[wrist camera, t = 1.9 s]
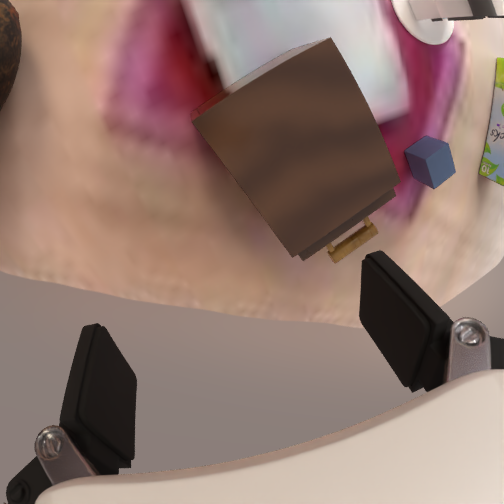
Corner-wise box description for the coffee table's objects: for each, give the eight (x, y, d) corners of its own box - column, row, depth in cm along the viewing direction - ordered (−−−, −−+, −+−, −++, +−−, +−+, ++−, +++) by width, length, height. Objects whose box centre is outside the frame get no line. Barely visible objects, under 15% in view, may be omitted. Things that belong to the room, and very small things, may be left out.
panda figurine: (406, 51, 28) (501, 55, 16) (372, -28, 23) (458, -58, 10) (461, 39, 28) (545, 47, 15) (434, -30, 22) (514, -43, 9)
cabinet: (353, 157, 34) (401, 182, 26) (266, 216, 36) (292, 258, 28) (291, 49, 27) (330, 37, 19) (190, 113, 29) (191, 121, 21)
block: (426, 135, 35) (448, 142, 31) (434, 162, 37) (456, 172, 33) (403, 150, 35) (425, 159, 31) (413, 178, 37) (434, 189, 34)
